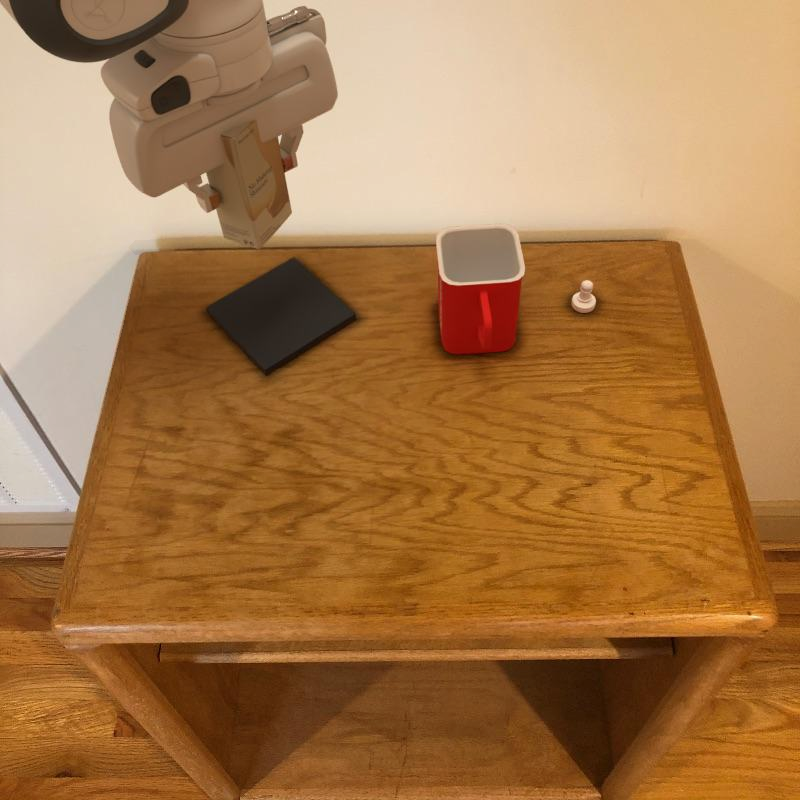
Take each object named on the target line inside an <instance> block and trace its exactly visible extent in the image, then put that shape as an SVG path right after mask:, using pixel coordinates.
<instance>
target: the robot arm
mask: <svg viewBox="0 0 800 800" xmlns="http://www.w3.org/2000/svg"><path fill="white" fill-rule="evenodd" d="M0 5H1V6H2V7H3V9H5V11H6V12H7V13H8V14H9V16H10V17H11V18H12V20H14V21H15V23H16V24H17V25H18V26H19V28H20V29H21V30H22V31H23V33H25V35H26V36H27V37H28V38H29V39H30V40H31V41H32V42H33V43H34V44H36V45H37V46H38V47H40V49H42V50H44V51H46V52H47V53H48V54H49V55H52V56H54V57H56V58H59V59H62V60H65V61H69V62H74V63H81V64H82V63H84V64H87V63H88V64H90V63H91V64H92V63H98V62H104V61H105V62H104V63H103V64H102V66H101V68H100V77H101V79H102V81H103V84H104V86H105V87H106V89H107V91H108V92H109V93H110V94H111V95H112V97H114V98H113V100H112V102H111V103H110V107H109V113H108V114H109V115H108V116H109V117H108V118H109V126H110V131H111V135H112V139H113V143H114V148H115V150H116V154H117V156H118V160H119V163H120V165H121V169H122V171H123V173H124V175H125V177H126V178H127V180H128V181H129V182H130V183H131V184H132V185H133V186H134V188H135V189H137V190H138V191H139V192H140V193H142V194H144V195H145V196H148V197H149V198H158V197H160V196H162V195H164V194H166V193H168V192H170V191H173V190H174V189H177V188H179V187H180V186H184V187H185V188H187V189H188V191H189V192H191V193H192V194H194V195H195V198H196V201H197V203H198V205H199V206H200V208H201V209H202V211H204V212H205V213H206V214H209V213H211V212H213V211H215V210H216V209H217V208H219V207H220V206H221V202H220V201H219V194H218V192H217V191H216V190H215V189H212V186H210V185H209V182H208V183H205V184H203V179H202V175H203V174H206V172H208V171H210V170H212V169H214V168H216V167H218V166H220V165H222V164H224V163H225V156H224V152H223V148H222V144H221V140H220V136H221V135H222V134H223V133H225V132H228V131H230V130H232V129H234V128H237V127H239V126H242V125H244V124H247V123H249V122H253V121H255V120H256V121H257V125H258V130H259V135H260V140H261V141H262V143H266V142H268V141H270V140H272V139H274V138H276V137H278V138H279V137H280V136H281V137H280V141H279V146H280V151H281V156H282V162H283V167H284V172H285V173H287V172H289V171H291V170H293V169H296V168H297V167H298V166H299V164H298V158H297V152H298V149H299V146H300V143H301V141H302V138H303V135H304V126H303V125H304V124H306V123H308V122H310V121H312V120H314V119H316V118H318V117H320V116H322V115H324V114H326V113H328V112H330V111H331V110H333V109H334V107H335V105H336V102H337V100H338V97H339V92H338V85H337V80H336V76H335V71H334V68H333V64H332V61H331V57H330V54H329V51H328V48H327V30H326V23H325V19H324V17H323V16H322V14H321V13H320V12H319V11H318V10H317V9H314V8H308V6H306V5H300V6H297V7H294V8H293V9H291V10H290V11H289V12H286V13H284V14H280V15H276V16H274V17H272V18H269V19H267V17H266V16H267V15H266V11H265V5H264V0H0ZM202 184H203V185H202ZM200 185H201V186H200Z"/></svg>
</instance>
